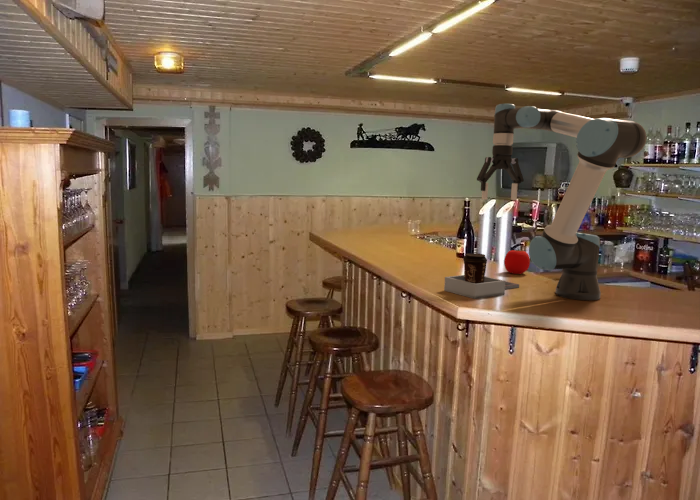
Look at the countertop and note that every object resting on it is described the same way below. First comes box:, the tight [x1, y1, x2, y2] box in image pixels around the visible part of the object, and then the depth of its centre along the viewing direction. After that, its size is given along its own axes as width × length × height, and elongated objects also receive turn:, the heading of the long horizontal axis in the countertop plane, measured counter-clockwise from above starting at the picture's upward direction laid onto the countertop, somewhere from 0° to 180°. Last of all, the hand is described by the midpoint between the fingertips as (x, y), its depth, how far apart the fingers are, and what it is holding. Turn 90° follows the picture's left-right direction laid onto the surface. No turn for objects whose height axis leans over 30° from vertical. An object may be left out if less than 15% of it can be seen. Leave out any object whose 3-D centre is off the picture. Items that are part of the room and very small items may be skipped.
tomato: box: [503, 248, 531, 275], centre depth 238 cm, size 10×11×11 cm
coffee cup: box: [462, 252, 488, 284], centre depth 196 cm, size 9×8×13 cm
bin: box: [443, 274, 506, 300], centre depth 196 cm, size 15×15×5 cm
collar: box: [504, 280, 520, 290], centre depth 210 cm, size 15×15×1 cm
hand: (499, 199), depth 215 cm, fingers open, 13 cm apart
